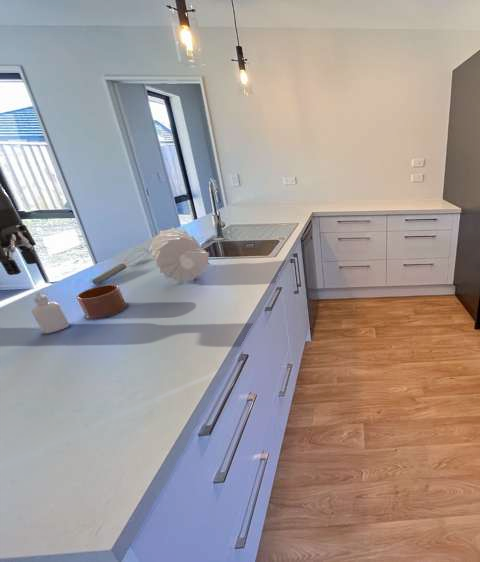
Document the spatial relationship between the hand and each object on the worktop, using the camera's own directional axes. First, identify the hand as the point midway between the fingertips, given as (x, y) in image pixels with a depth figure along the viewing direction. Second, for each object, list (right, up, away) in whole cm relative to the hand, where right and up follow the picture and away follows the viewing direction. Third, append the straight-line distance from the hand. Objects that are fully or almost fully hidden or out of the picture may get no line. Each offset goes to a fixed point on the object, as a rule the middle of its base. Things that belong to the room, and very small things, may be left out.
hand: (24, 268), depth 80 cm
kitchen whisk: (-14, +1, +51) cm, 53 cm away
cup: (+6, -13, +18) cm, 23 cm away
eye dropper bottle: (0, -18, +8) cm, 20 cm away
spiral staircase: (+15, -1, +45) cm, 48 cm away
